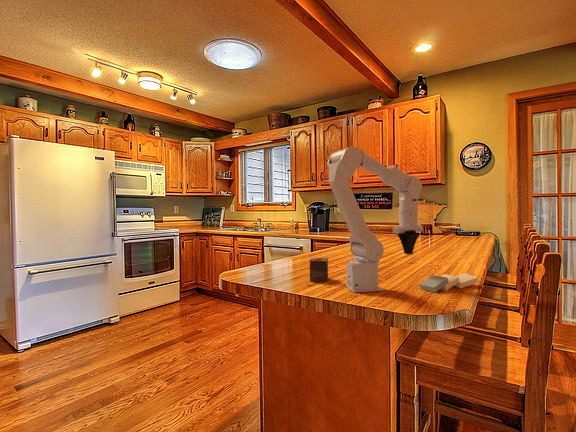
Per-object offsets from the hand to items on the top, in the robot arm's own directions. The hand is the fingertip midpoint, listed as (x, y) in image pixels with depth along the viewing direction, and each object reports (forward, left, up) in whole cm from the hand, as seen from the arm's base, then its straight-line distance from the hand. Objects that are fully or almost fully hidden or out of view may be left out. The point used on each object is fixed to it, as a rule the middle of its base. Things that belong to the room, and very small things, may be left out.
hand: (408, 254), depth 103 cm
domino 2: (+6, -8, -9) cm, 13 cm away
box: (-28, +10, -10) cm, 31 cm away
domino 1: (+1, -9, -9) cm, 13 cm away
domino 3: (+12, -6, -9) cm, 16 cm away
